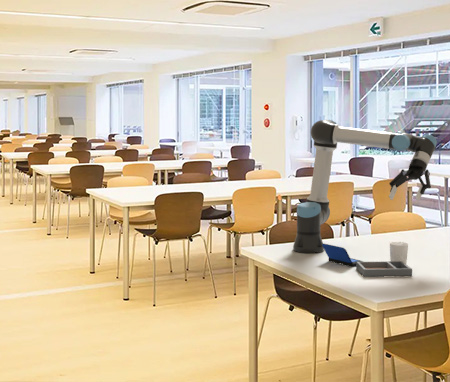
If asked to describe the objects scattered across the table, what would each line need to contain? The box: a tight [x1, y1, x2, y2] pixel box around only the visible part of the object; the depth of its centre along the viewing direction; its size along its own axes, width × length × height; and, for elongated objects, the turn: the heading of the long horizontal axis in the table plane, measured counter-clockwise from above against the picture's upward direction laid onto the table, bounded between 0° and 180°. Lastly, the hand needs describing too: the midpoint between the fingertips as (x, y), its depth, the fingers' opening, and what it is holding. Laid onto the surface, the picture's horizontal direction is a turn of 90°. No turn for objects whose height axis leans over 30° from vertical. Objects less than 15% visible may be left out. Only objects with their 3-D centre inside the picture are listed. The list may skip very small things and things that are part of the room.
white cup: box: [389, 241, 409, 265], centre depth 295 cm, size 8×8×10 cm
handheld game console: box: [322, 243, 365, 268], centre depth 300 cm, size 16×13×9 cm
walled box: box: [355, 260, 413, 278], centre depth 282 cm, size 20×15×3 cm
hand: (403, 198), depth 303 cm, fingers open, 13 cm apart
